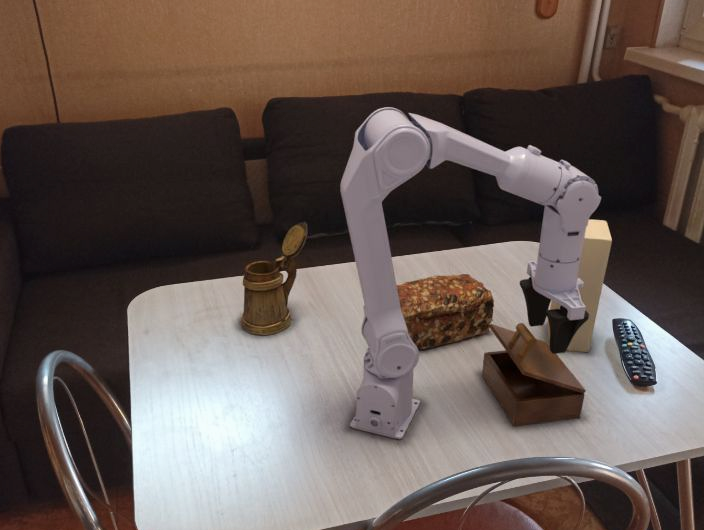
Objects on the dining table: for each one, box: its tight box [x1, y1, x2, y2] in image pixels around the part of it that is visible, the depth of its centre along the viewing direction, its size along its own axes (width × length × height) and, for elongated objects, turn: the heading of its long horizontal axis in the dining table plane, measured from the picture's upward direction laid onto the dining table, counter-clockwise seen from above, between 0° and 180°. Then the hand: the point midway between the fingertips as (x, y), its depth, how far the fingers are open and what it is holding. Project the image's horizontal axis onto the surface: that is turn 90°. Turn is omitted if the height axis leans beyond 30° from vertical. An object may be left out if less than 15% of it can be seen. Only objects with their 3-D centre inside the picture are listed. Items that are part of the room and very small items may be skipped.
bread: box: [396, 273, 495, 350], centre depth 122 cm, size 19×11×10 cm, turn 113°
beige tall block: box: [546, 219, 613, 353], centre depth 117 cm, size 8×7×21 cm
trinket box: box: [481, 349, 585, 427], centre depth 107 cm, size 10×13×4 cm
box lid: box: [489, 322, 587, 394], centre depth 104 cm, size 11×13×4 cm
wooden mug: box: [241, 221, 308, 336], centre depth 125 cm, size 9×14×18 cm, turn 118°
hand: (546, 338), depth 103 cm, fingers open, 7 cm apart
